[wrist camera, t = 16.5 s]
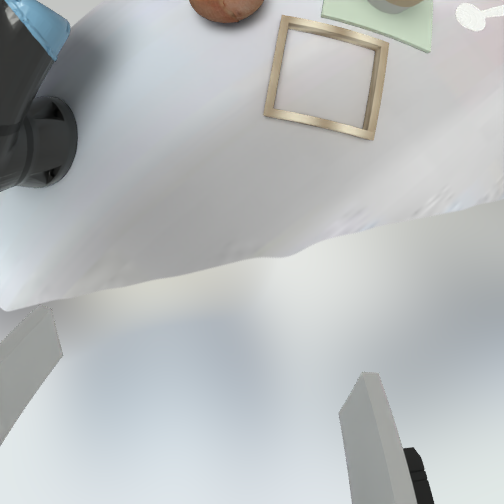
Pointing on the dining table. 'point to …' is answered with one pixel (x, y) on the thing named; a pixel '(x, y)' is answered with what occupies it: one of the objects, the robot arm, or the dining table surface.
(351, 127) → the picture frame
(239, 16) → the onion
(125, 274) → the dining table surface
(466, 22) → the spoon
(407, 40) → the mat
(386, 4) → the coffee cup
